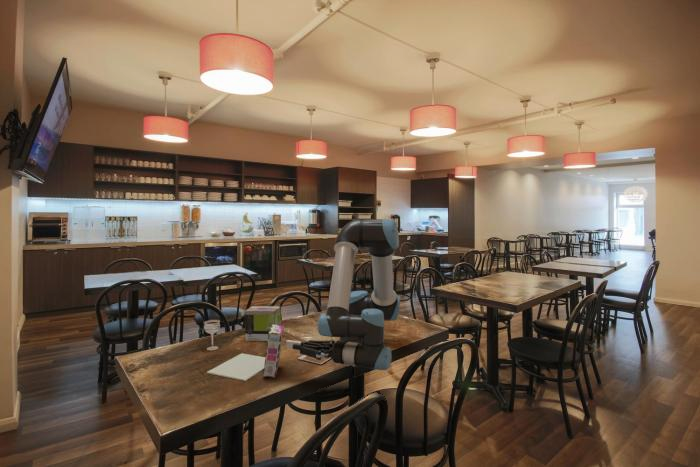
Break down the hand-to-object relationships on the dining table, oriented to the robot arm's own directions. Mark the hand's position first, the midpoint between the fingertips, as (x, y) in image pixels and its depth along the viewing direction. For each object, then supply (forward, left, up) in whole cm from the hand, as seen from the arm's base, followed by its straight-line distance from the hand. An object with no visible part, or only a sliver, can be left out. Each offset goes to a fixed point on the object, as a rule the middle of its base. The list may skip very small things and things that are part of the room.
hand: (287, 344), depth 132 cm
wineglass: (+46, -11, -12) cm, 49 cm away
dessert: (-2, -20, -13) cm, 23 cm away
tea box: (+33, -31, -12) cm, 48 cm away
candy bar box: (+7, 0, -12) cm, 14 cm away
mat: (+20, 0, -12) cm, 24 cm away
